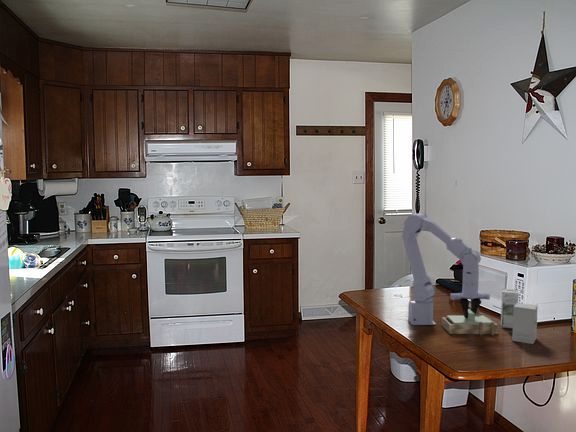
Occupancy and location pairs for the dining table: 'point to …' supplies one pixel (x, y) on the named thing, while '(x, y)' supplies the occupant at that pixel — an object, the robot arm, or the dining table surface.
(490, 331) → the tan wooden frame
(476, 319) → the lid
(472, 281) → the robot arm
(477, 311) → the light brown wooden bar
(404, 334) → the dining table surface
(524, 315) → the supplement box
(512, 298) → the syrup box
